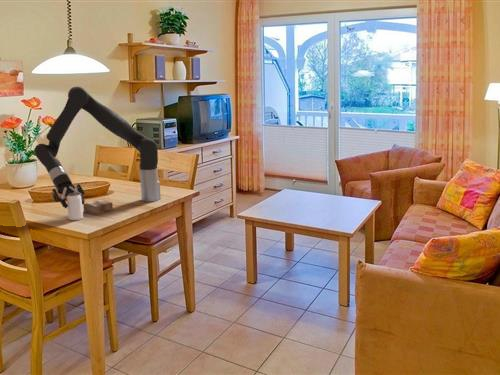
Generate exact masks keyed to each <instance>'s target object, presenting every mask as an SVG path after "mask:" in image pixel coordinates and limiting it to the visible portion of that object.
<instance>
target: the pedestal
mask: <svg viewBox="0 0 500 375" xmlns="http://www.w3.org/2000/svg"><path fill="white" fill-rule="evenodd" d="M82 206H83V213H88V214H90V215H93V216H98V215H101V214H105V213H109V212H113V211H114V208H113V207H114V206H113V202H111V201H107V200H103V199H98V200H93V201H90V202H84V204H82Z"/></svg>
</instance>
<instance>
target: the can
mask: <svg viewBox="0 0 500 375" xmlns="http://www.w3.org/2000/svg"><path fill="white" fill-rule="evenodd" d="M67 195H68V196H67V197H66V203H67V205H68V207H67V213H68V215H67V216H68V220H70V221H73V222H75V221H80V220H82V219H83V218H84V208H83V204H82V199H81V196H80V193H75V192H74V193H70V194H67Z"/></svg>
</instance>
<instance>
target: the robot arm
mask: <svg viewBox="0 0 500 375" xmlns="http://www.w3.org/2000/svg"><path fill="white" fill-rule="evenodd" d="M67 97H68V98H67V101H66V102H65V103H66V104H65V106H64V107H63V109H62V111H61V113H60V114H59V116H58V117H57V118H56V119H55V121H54V123H53V124H52V125H51V127H50V129H49V131H48V132H47V134H46V136H45V137H46V140H48V144H45V143H38V144H37V145H35V147H34V156H35V157H36V158H37V159H38V162H40V163H41V165H43V166H44V168H45V169H46V171H47V172H48V175H49V178H50V180H51V182H52V184H53V185H54V187H55V188H53V189H52V191H51V195H52V197H53V199H54V201H55V202H56V203H58V202H59V203H60V204H61V206H62V207H63V208H64V209H68V205H67V200H65V198H67V196H68V195H67V194H70V193H80V196H81V199H82V205H83V204H85V203H86V202H85V201H86V199H84V195H85V194H86V192H85V191H84V189H83V187H82V186H81V184H79V183H77V184H76V185H74V184H73V182H72V180H71V178H70V176H69V175H68V173H67V171H66V169H65V168H64V166H63V165H62V163H61V161H60V160H59V159H57V158H56V157H57V155H58V152H59V149H60V145H61V141H62V140H63V139H64V137H65V135H66V133H67V132H68V130H69V128H70V126H71V125H72V122H73V120H75V117H76V116H77V114H79V112H80V111H81V110H84V111H85V112H86V113H88V114H89V115H91V117H93V118H94V119H95V121H97V122H98V123H99V124H100V125H102V127H103V128H105V129H106V130H108V131H109V132H111V133H112V134H113V135H115V136H117V137H118V138H120V139H123V140H124V141H126V142H127V143H129V144H130V145H131V146H132V147H134V149H136V151H138V153H139V158H140V159H139V160H140V162H139V178H140V180H139V181H140V192H141V194H140V195H141V201H142V202H147V203H149V202H156V201H159V200H161V183H160V181H159V176H158V174H159V173H158V164H159V163H158V162H159V159H158V158H159V155H158V154H159V152H158V150H159V149H158V145H157V143H156V142H155V141H154V140H153V139H151V138H149V137H147V136H145V135H144V134H141V133H140V132H139V131H137V130H136V129H135V128H134V127H133V126H132V125H131V124H130V123H129V122H128V121H127V120H126V119H124V118H123V117H122V116H120V115H119V114H118V113H117V112H115V111H113V110H112V109H110V108H109V107H107V106H106V105H104V104H102V103H101V102H99V101H97V100H96V99H95V98H94V97H93V96H92V95H90V93H88V92H87V90H86V89H85V88H83V87H81V86H74V87H71V88H70V89H69V90H68V92H67ZM58 194H59V195H58Z"/></svg>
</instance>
